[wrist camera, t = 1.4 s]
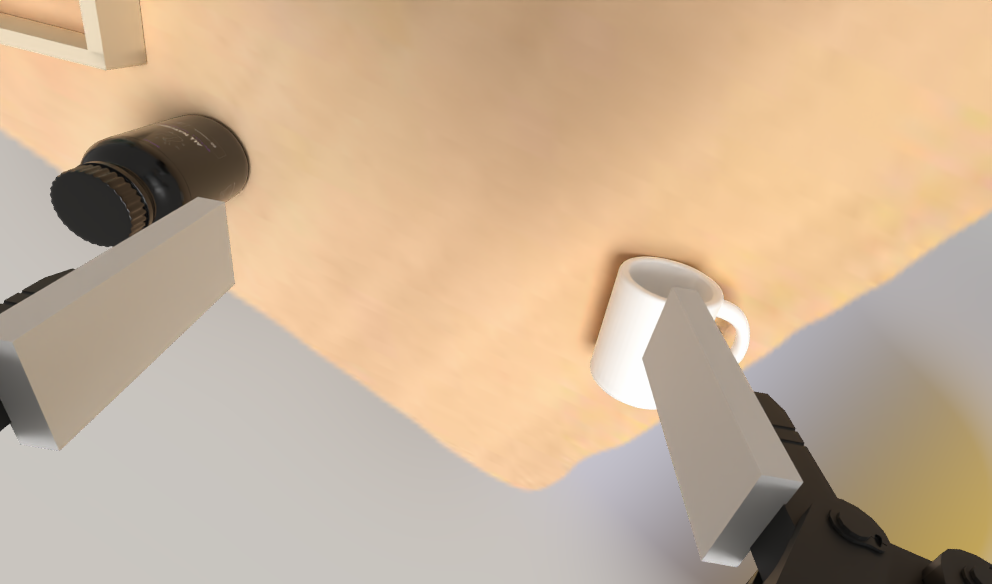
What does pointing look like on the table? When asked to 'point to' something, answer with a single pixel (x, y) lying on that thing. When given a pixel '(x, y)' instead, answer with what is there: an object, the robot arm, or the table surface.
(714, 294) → the mug
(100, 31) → the pitch
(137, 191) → the supplement bottle
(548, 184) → the table surface
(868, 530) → the robot arm
